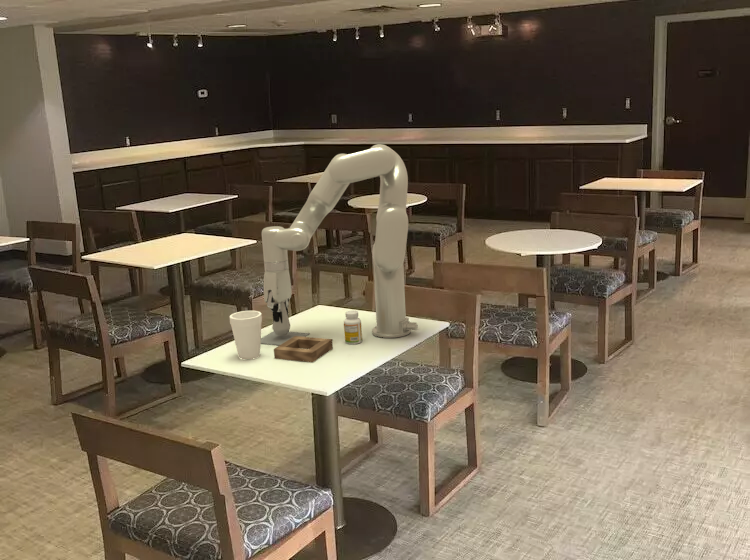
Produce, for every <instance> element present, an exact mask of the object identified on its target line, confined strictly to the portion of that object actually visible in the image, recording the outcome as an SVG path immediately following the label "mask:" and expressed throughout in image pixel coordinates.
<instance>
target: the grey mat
mask: <svg viewBox="0 0 750 560" xmlns="http://www.w3.org/2000/svg"><path fill="white" fill-rule="evenodd" d="M309 335H310V333H309V332H298V331H289V333H288V334H287V335H283V336H278V335H276V334H275V332H274V331H272V332H270V333H268V334H266V335H265V336H263V337H261V344H260V345H265V346H266V345H268V346H276V347H278V346H279V345H281V344H283V343H284V342H286V341H288V340H289V339H291V338H293V337H294V336H301V337H309Z"/></svg>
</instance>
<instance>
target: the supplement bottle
mask: <svg viewBox="0 0 750 560" xmlns="http://www.w3.org/2000/svg"><path fill="white" fill-rule="evenodd" d="M343 330H344V331H343V332H344V333H343V334H344V342H345V344H347V345H358V344H360V343H362V342H363V336H362V335H363V333H362V320H361V318H360V317H359V311H357V310H347V311H346V312H345V319H344V320H343Z"/></svg>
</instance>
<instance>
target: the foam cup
mask: <svg viewBox="0 0 750 560" xmlns="http://www.w3.org/2000/svg"><path fill="white" fill-rule="evenodd" d="M262 323H263V313H262V312H261V311H258V310H241V311H237V312H233V313H231V314H230V315H229V325H230V326H231V330H232V335H233V339H234V343H235V347H236V352H237V356H238V358H239V357H240V358H242V359H241V360H243V359H250V360H254V359H253V358H255V359H258V358H259V357H260V356H261V345H262V344H261V338H262ZM240 358H239V359H240Z"/></svg>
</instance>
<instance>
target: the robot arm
mask: <svg viewBox="0 0 750 560" xmlns="http://www.w3.org/2000/svg"><path fill="white" fill-rule="evenodd" d="M377 177H379V178H380V179H379V180H380V183H379V184H380V186H379V200H378V207H377V212H376V219H375V220H376V227H375V228H376V229H375V239H374V240H375V241H374V243H373V245H372V249H371V251H372V252H371V253H372V265H373V266H372V267H373V278H374V279H373V280H374V301H375V302H374V303H375V318H376V319H375V321H376V322H375V324H376V326H373V328H372V329H371V333H372V335H373V336H375V337H377V336H378V337H379V338H382V337H383V338H384V339H394V338H395V339H396V338H401V337H404V336H405V337H406V336H408V335H409V334H410V333H411V332H412V331H417V330H419V329H418V328H419V324H418V323H417V322H414V321H413V322H412V321H411V322H410V319H409V318H410V317H406V316H407V315H406V313H407V311H406V297H405V296H406V295H405V294H406V292H405V291H406V290H405V268H404V262H405V258H406V250H407V241H408V240H407V239H408V232H409V216H408V214H407V199H408V187H409V185H408V184H409V181H408V180H409V177H408V171H407V168H406V164H405V162H404V160H403V159H402V158H401V156H400V155H399V154H398V153H397V152H396V151H395V150H393V149H392V148H391V147H389V146H387V145H386V144H380V143H378V144H374V145H372V146H371V147H370V148H368V149H364V150H361V151H357V152H353V153H348V154H347V153H338V154H336V155H335V156H334V157H333V158H332V159H331V161H330V162H329V164H328V165H327V167H326V168H325V170H324V171H323V173H322V175H321V176H320V177H319V179H318V181H316V182H317V183H316V184H315V185H314V187H313V189H312V190H311V192H310V193H309V195H308V197H307V200H306V202H305V203H304V205H303V206H302V208H301V209H300V211H299V212H298V215H296V218H295V219H294V221H293V222H292V224H291V225H290V226H289V227H288V228H284V227H283V226H280V225H279V226H277V225H276V226H275V225H274V226H266V227H264V228H263V229H262V230H261V243H262V252H263V253H262V254H263V264H264V274H263V299H264V302H265V303H266V307H267V308H269V309H270V312H272V324H273V323H274V321H275V322H278V321H279V317H280V320H281V323H282V319H283V318H282V312H281V306H280V302H282V301H283V300H284V299H286V301H285V302H284V304H285V307H286V311H287V315H288V318H289V309H288V308H289V307H290V306H289V302H290V300H291V298H292V292H293V291H292V281H291V276H290V270H289V269H290V268H289V256H288V251H295V252H296V251H297V252H299V251H303V250H305V249H307V247H308V246H309V245H310V242H311V239H312V237H313V235H314V234H315V232H316V230H317V229H318V227H319V226H320V225H321V223H322V222H323V220H324V219H325V217H327V215H328V214H329V213H331V211H333V209H334V208H335V207H336V205H337V204H338V202H339V200H340V199H341V197H342V196H343V195H344V193H345V191H346V190H347V188H348V187H349V185H350V184H352V183H357V182H360V181H364V180H367V179H368V180H369V179H373V178H377ZM273 300H275V302H273ZM274 304H277V306H276V305H274Z"/></svg>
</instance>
